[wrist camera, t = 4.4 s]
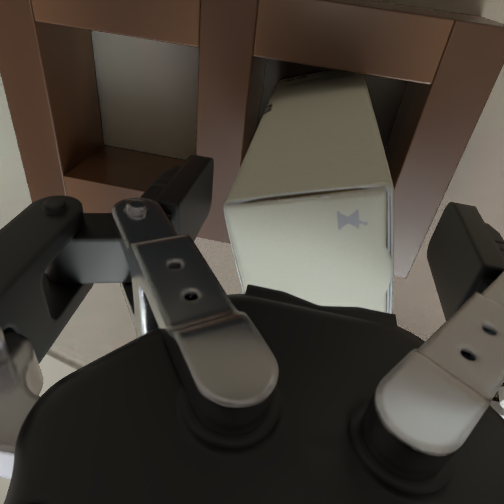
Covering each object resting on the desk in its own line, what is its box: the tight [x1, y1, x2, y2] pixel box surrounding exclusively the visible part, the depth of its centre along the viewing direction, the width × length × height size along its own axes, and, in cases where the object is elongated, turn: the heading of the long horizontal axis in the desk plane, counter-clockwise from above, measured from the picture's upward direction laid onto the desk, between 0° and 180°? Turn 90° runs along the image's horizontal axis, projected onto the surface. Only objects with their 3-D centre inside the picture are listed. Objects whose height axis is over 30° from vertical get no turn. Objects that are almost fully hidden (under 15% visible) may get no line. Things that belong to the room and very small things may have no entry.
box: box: [223, 70, 394, 314], centre depth 16 cm, size 5×4×13 cm
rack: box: [0, 0, 504, 278], centre depth 20 cm, size 21×11×4 cm, turn 84°
